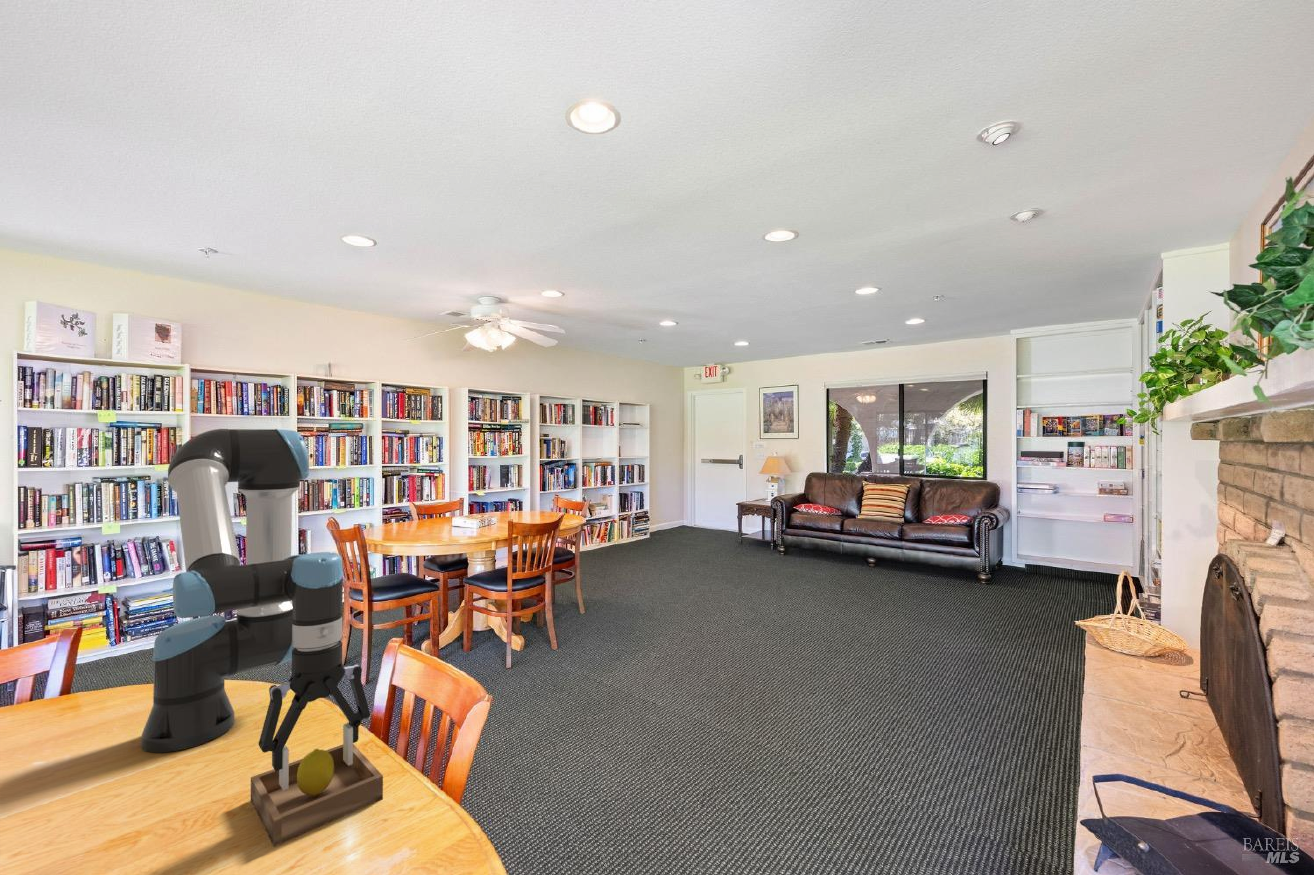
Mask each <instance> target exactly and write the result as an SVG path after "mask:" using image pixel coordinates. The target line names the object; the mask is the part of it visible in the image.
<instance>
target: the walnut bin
mask: <svg viewBox="0 0 1314 875" xmlns="http://www.w3.org/2000/svg"><path fill="white" fill-rule="evenodd" d="M325 751H327V752H328V753H330V755H331V756H332V758H333V762H334V775H333V778H332V781H331V782H330V784H329V786H328V787H327V788H326V789H325V790H324V791H322V792H320V793H319V794H318V795H317V796H312V795H306V794H304V793H303V792H301V790H300V789H299V787H298V784H297V772H298V768H299V765H300V763H301V761H302V759H303V758H301V759H298V760H295V761H292V762H289V789H287V790H284V791H283V789H282V788H281V786H280V785H279V770H278V771H275V769H274V768H273V769H270V770H267V771H264V772H262V773H258V774H256V775H253V776H250V802H251V804H252V805H253V808H254V810H255V812H256V814H257V816H258V818H259V820H260V822H261V824H262V826H263V828H264V830H265V832H266V834H267V835H268V837H269V840H270V842H271V843H272V846H273V847H274V848H275V847H277V846H279V845H281V844H283V843H286V842H288V841H290V840H292V839H295V838H297V837H299V836H303V835H304V834H307V833H308V832H311V831H313V830H315V829H317V828H320V827H323V826H324V825H327V824H330V823H331V822H333V821H335V820H336V821H337V819H340V818H342V817H345V816H347V815H349V814H351V813H354V812H356V811H359V810H360V809H363V808H366V807H367V806H370V805H372V804H374V803H376V802H379V801H381V800H383V798H384V775H383V774H382V773H381V772H380V771H379V770H378V769H377V767H375V765H373V763H372V762H371V761H370V760H369V759H368V758H367V757H366V755H364V754H363V752H362V751H361V750H360V749H359V748H358V747H357V746H356V745H355V743H353V764H352V765H349V766H348V765H347V764H346V763H345V761H344V760H343V743H342V744H339V745H337V746H334V747H332V748H329V749H326V750H325Z"/></svg>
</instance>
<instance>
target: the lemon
mask: <svg viewBox="0 0 1314 875" xmlns="http://www.w3.org/2000/svg"><path fill="white" fill-rule="evenodd" d="M301 759H302V761H301V763H300V765H299V768H298V772H297V784H298V787H299V789H300V790H301V792H303V793H304V794H306V795H312V796H317V795H318V794H319V793H320V792H322V791H324V790H325V789H326V788H327V787H328V786H329V784H330V782H331V781H332V778H333V775H334V762H333V758H332V756H331V755H330V753H328V752H327V751H326V750H325V749H318V748H315V749H313V751H310V752H308V753H307V754H306V755H305V756H304V757H302V758H301Z"/></svg>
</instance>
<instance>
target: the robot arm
mask: <svg viewBox="0 0 1314 875" xmlns="http://www.w3.org/2000/svg"><path fill="white" fill-rule="evenodd" d="M306 445H307V444H306V442H305V439H304V438H303V436H302V435H301V434H300V433H299V432H298V431H296V430H292V429H291V430H290V429H289V430H288V429H279V428H275V429H271V428H269V429H267V428H266V429H265V428H263V429H262V428H260V429H250V428H249V429H246V428H245V429H243V428H241V429H240V428H239V429H237V428H236V429H234V428H233V429H232V428H230V429H229V428H216V429H211V430H207V431H204V432H202V433H199V434H197V435H195V436H194V437H192V438H190V439H189V440H187V441H186V442H185V443H183V444H182V445H181V446H180V447H179V448H178V449H177V450H176V452H175V453H174V455H173V457H172V458H171V459H170V461H169V465H168V467H167V468H168V469H167V479H168V485H169V487H170V488H171V489H172V491H173V492H175V493H176V497H177V498H176V500H177V506H178V507H177V508H178V516H179V523H180V532H181V540H182V542H181V543H182V548H183V557H184V564H185V565H184V566H185V572H180V573H177V574H176V575H175V576H174V577H173V581H172V582H173V583H172V604H173V605H172V606H173V614H174V616H176V617H178V618H179V619H187V620H185V621H182V622H180V623H179V622H178V623H177V624H174V625H172V626H169V627H168V628H166V629H164V630H162V631H161V632H160V633H159V634H158V635H157V636H156V637H155V640H154V645H153V646H154V647H153V655H152V657H151V658H152V659H151V660H152V661H153V693H152V694H153V696H152V697H153V700H152V702H153V703H152V706H151V710H150V712H149V715H148V717H147V721H146V722H145V725H144V728H143V731H142V733H141V745H142V746H141V748H142V750H144V749H145V750H146V752H149V753H170V752H177V751H181V750H186V749H187V750H188V749H190V748H193V747H197V746H200V745H203V744H206V743H207V742H210V741H212V740H214V739H217V738H219V737H221V736H223V735H225V734H226V733H227V732H228V731H230V730H231V729H232V728H233V726H234V725H235V710H234V708H233V706H232V703H231V701H230V699H229V696H228V694H227V692H226V687H225V678H226V677H229V676H234V675H239V674H242V673H248V672H251V671H255V670H259V669H263V668H268V667H274V666H279V665H281V664H285V663H287V662H288V663H289V662H291V676H290V678H289V680H288V682H285V683H282V684H280V685H277V684H273V685H270V687H269V689H268V692H269V699H270V700H269V703H268V707H267V711H266V716H265V719H264V722H263V726H262V729H261V734H260V737H259V741H258V747H259V749H260V750H261V752H262V753H268V752H271V766H272V768H273V769H275V771H278V770H279V785H280V786H281V788H282V789H283V791H284V790H287V789H289V763H290V756H289V754H290V750H289V748H288V745H287V744H286V743H287V742H288V739H289V738H290V736H291V734H292V732H293V730H294V728H295V726H296V725H297V722H298V720H299V718H300V716H301V714H302V712H303V710H304V709H305V708H306V707H307V705H308V703H311V702H315V701H317V700H319V699H324V698H328V697H330V696H331V697H332V699H333V700H334V701H335V703H336V705H337V706H338V708H339V709H340V710H341V712H342V713H343V715H344V716H345V718H346V719H347V721H348V722H345V723H343V725H342V731H343V732H342V733H343V734H342V736H343V737H342V744H343V760H344V761H345V763H346V764H347V765H348V766H349V765H352V764H353V744H355V743H357V742H358V741H359V737H360V736H359V727H360V726H361V724H362V721H363V720H364V719H368V718H369V717H370V716H371V713H370V708H369V705H368V700H367V697H366V693H365V690H364V687H363V686H364V685H363V683H362V672H363V669H362V667H361V666H360V665H358V664H357V663H352V664H351V665H350V666H345V667H344V665H343V642H342V641H341V640H342V639H343V594H344V593H343V589H344V588H343V587H344V586H343V584H344V583H343V581H344V580H343V578H344V575H345V572H344V569H343V568H344V567H343V558H342V556H341V555H340V554H339V553H338V552H337V553H336V552H329V551H323V552H322V551H321V552H320V551H319V552H311V553H305V554H294V555H292V532H293V531H292V529H293V528H292V522H293V518H292V516H293V515H292V514H293V513H292V512H293V495H294V493H295V492H297V491H298V490H299V489H300V488H301V487H300V486H301V482H300V481H304V480H306V479H307V478H308V477H309V473H310V459H309V452H308V448H307V446H306ZM228 483H237V491H239V492H240V493H241V494H243V496H245V498H246V516H245V517H246V520H245V523H246V525H245V529H246V530H245V532H246V534H245V564H241V560H240V555H239V551H238V549H239V548H238V545H237V540H236V536H235V535H236V534H235V531H234V524H233V519H232V514H231V510H230V505H229V499H228V496H227V495H228V494H227V491H226V490H227V489H226V486H227V485H228ZM232 611H236V619H231V620H227V619H225V617H224V616H223V615H221V614H222V613H227V612H232ZM215 614H216V615H215ZM217 614H218V615H217ZM188 618H189V619H188ZM190 618H193V619H190ZM226 620H227V621H226ZM344 676H346V678H347V679H348V680H349V684H350V686H351V690H352V695H353V698H354V701H355V704H356V708H357V712H354V710H353V709H352V707H351V705H350V704H349V703H348V701H347V700H346V698H345V696H344V695H343V693H342V692H341V690H340V689H339V686H338V685H339V684H340V682H341V681H342V679H343V678H344ZM289 691H292V692H293V693H294V696H293V697H292V700H291V704H290V706H289V708H288V710H287V712H286V714H285V716H284V717H283V720H282V721H281V724H280V726H279V727H278V730H277V731H276V729H277V726H278V721H279V719H280V713H281V711H282V710H281V709H282V706H283V699H285V698H286V697H287V694H288V692H289ZM229 729H230V730H229ZM145 750H144V751H145Z"/></svg>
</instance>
